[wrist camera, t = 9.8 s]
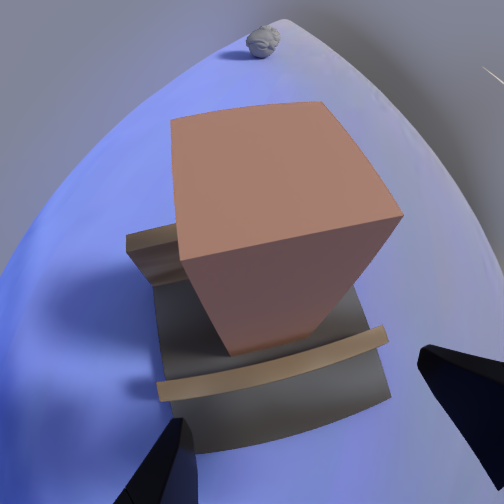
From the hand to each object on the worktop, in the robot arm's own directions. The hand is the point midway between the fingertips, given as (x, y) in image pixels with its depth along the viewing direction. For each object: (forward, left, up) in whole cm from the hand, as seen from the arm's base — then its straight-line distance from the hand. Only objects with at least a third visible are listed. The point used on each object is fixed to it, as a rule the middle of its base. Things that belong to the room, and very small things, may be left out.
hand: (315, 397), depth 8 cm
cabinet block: (+6, 0, -8) cm, 10 cm away
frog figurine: (+53, -13, -9) cm, 55 cm away
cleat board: (+4, 0, -9) cm, 10 cm away
